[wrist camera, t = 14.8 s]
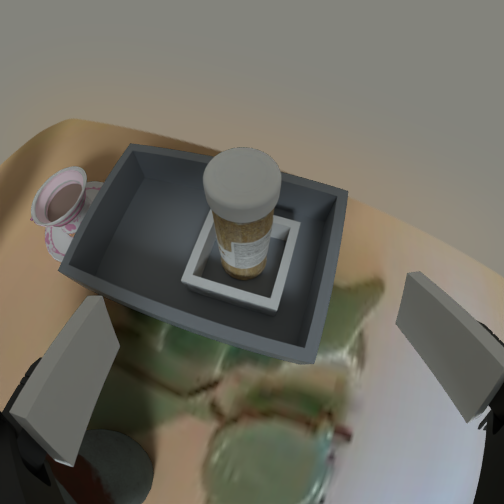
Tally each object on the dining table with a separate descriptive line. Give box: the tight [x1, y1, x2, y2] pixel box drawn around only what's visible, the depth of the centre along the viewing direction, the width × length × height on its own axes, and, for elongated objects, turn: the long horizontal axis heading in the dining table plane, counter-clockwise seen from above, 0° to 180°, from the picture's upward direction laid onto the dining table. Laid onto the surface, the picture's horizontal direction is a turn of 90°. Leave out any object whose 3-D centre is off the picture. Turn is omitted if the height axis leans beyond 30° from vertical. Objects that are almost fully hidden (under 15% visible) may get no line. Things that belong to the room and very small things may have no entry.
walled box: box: [58, 143, 348, 364], centre depth 26 cm, size 24×16×6 cm, turn 73°
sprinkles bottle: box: [203, 147, 281, 280], centre depth 21 cm, size 5×5×14 cm
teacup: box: [30, 166, 104, 262], centre depth 28 cm, size 12×12×6 cm
